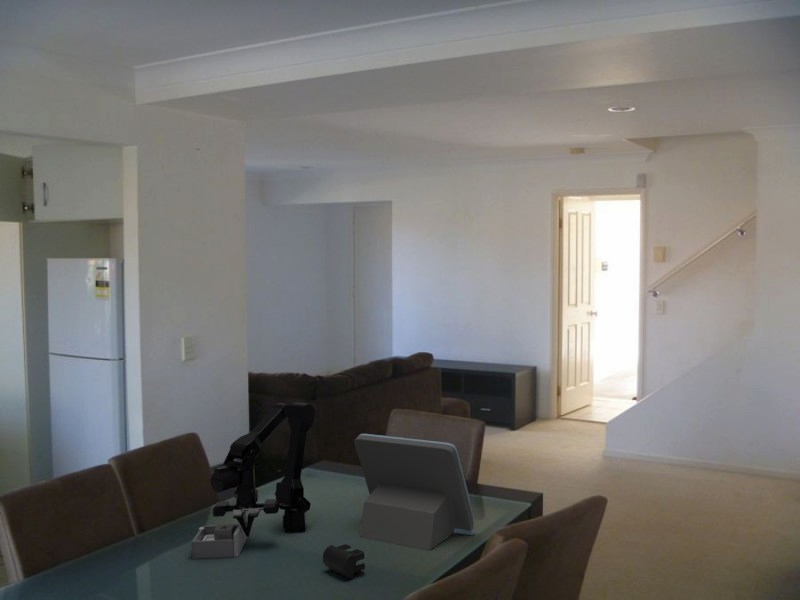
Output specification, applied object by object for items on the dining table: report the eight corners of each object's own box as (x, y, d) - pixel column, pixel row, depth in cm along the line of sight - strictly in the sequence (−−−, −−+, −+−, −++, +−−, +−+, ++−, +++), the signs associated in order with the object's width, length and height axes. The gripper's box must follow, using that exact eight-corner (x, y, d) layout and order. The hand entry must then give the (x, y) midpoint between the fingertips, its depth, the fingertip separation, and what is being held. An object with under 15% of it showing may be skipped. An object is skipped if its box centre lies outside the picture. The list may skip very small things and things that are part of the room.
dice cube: (214, 547, 232) (213, 530, 232) (218, 541, 237) (217, 524, 237) (232, 546, 232) (231, 529, 232) (235, 540, 237) (234, 523, 237)
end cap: (322, 572, 215) (321, 547, 215) (344, 565, 220) (343, 540, 219) (344, 582, 207) (343, 557, 207) (366, 575, 212) (365, 550, 212)
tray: (246, 539, 242) (245, 518, 242) (237, 556, 228) (236, 534, 228) (207, 541, 242) (206, 520, 241) (196, 558, 228) (195, 536, 227)
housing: (242, 540, 242) (241, 523, 242) (233, 557, 228) (232, 539, 228) (202, 542, 242) (201, 524, 241) (190, 559, 228) (189, 541, 227)
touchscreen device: (477, 532, 241) (472, 434, 239) (445, 556, 225) (439, 451, 222) (381, 515, 260) (376, 425, 258) (345, 536, 244) (339, 439, 242)
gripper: (280, 475, 242) (283, 525, 243) (218, 478, 242) (221, 529, 242) (275, 485, 231) (278, 538, 232) (210, 488, 231) (213, 541, 231)
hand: (248, 536), depth 235 cm, fingers closed
